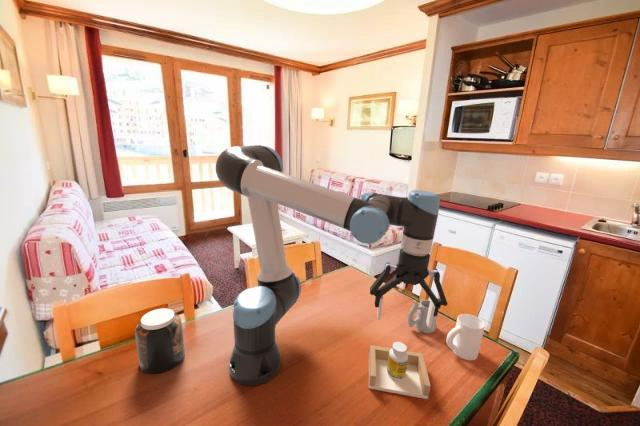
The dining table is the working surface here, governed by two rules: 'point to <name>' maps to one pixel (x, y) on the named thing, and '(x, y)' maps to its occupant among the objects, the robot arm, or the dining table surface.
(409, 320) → the mug
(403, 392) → the u rest
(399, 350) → the supplement bottle
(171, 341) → the jar
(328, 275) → the dining table surface
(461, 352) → the mug
